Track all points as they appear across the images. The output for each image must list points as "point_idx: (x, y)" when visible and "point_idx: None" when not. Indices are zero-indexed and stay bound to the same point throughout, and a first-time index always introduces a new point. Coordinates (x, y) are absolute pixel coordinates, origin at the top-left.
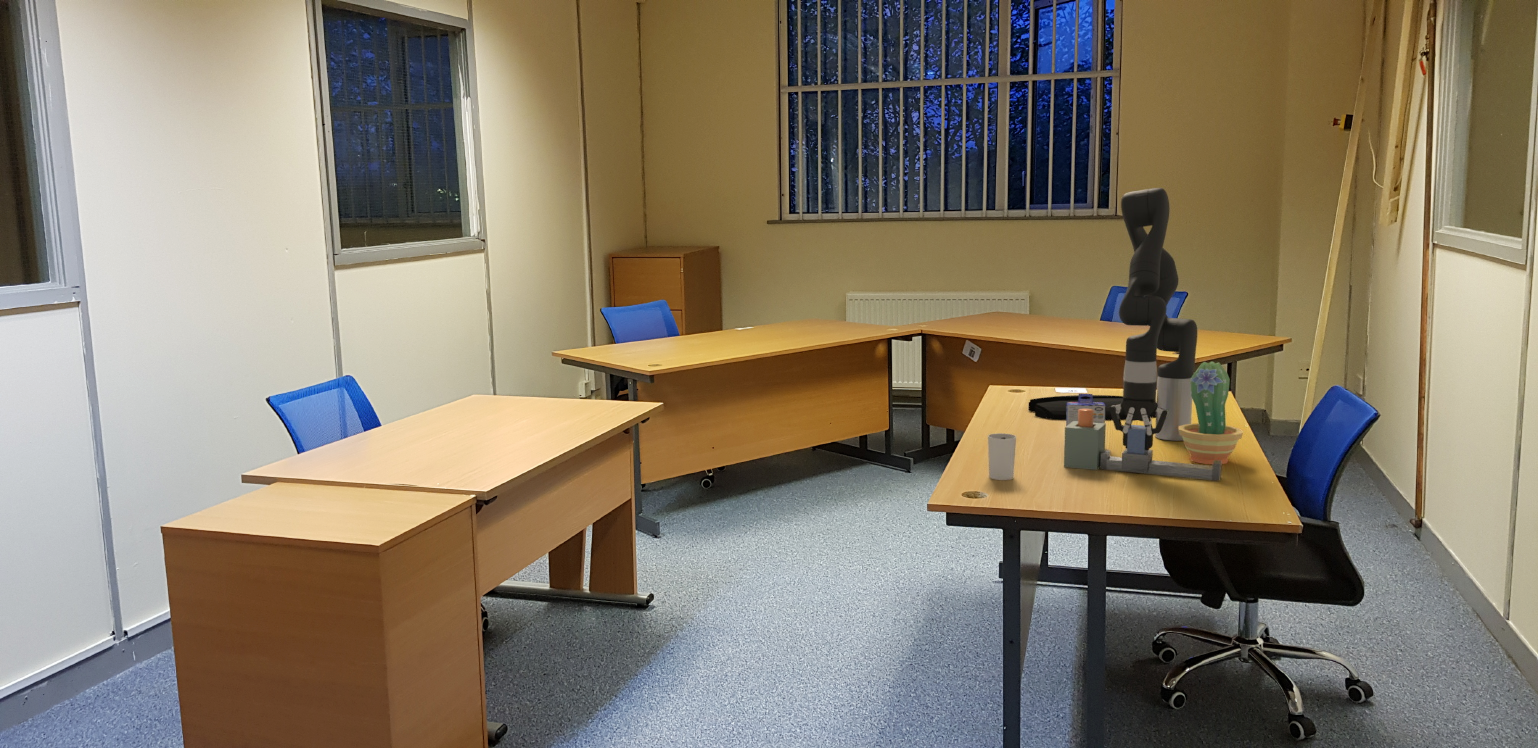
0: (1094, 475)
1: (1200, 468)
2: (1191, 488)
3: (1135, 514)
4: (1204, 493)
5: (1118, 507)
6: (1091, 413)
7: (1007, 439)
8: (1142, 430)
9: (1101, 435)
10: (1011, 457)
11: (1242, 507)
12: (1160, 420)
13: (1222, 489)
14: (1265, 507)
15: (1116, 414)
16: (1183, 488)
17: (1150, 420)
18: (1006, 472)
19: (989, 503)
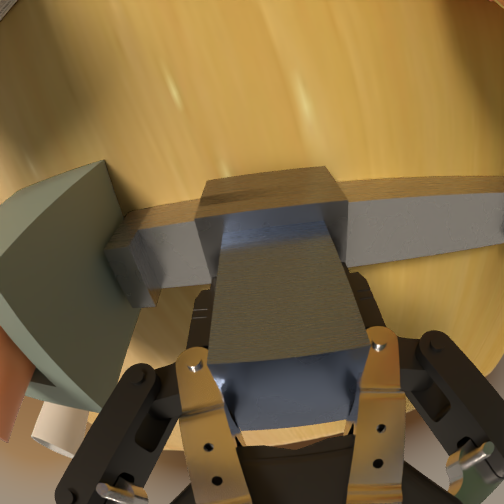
0: (180, 331)
1: (488, 244)
2: (433, 317)
3: (333, 432)
4: (448, 332)
5: (307, 429)
6: (8, 428)
7: None
8: (330, 417)
9: (75, 326)
10: (84, 426)
11: (474, 357)
12: (449, 438)
13: (488, 289)
14: (501, 340)
15: (141, 486)
16: (417, 326)
17: (395, 423)
18: None
19: (166, 446)
